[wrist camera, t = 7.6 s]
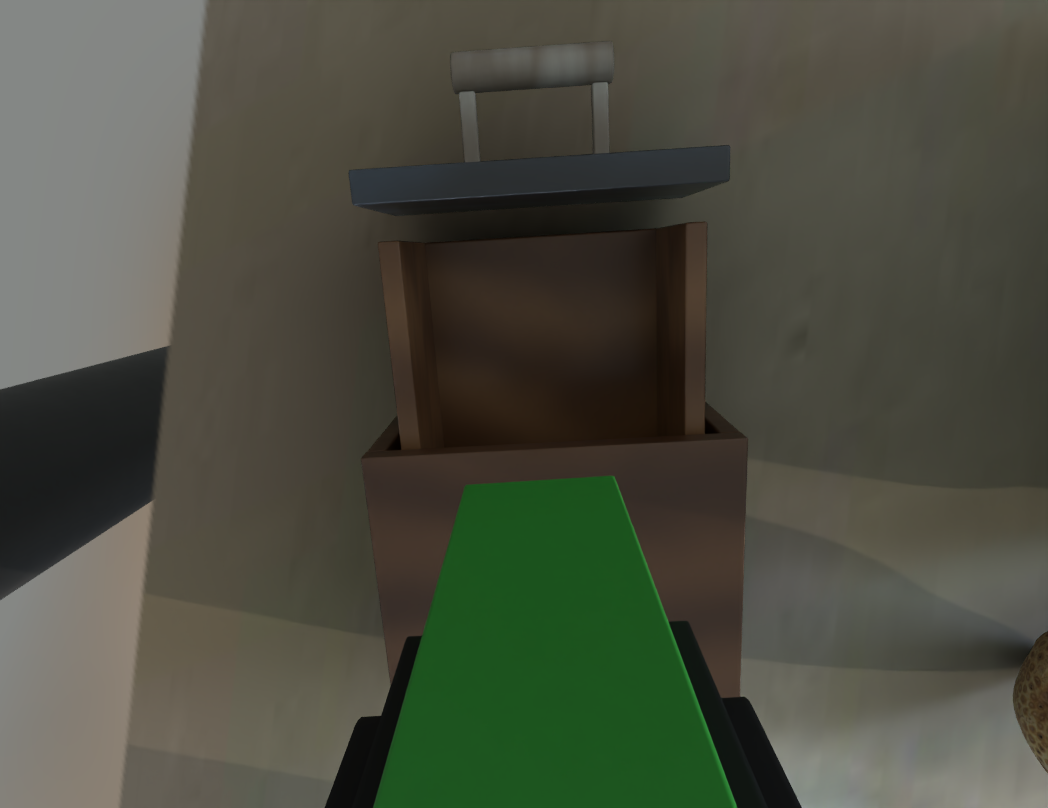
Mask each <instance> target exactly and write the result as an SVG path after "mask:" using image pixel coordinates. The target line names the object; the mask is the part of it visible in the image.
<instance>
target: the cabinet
mask: <svg viewBox="0 0 1048 808" xmlns="http://www.w3.org/2000/svg"><path fill="white" fill-rule="evenodd" d="M747 452H748V438H747V437H746V436H745V435H744V434H742V433H741V432H739V431H738V430H737V429H736V428H735V427H734V426H733V425H731V424H730V423H729V422H728V421H727V420H726V419H725V418H723V417H722V416H721V415H720V414H719V413H718V412H717V411H715V410H714V409H713V408H712V407H711V406H710V405H709V404H707V403H706V402H705V434H697V435H678V436H659V437H640V438H621V439H602V440H583V441H564V442H545V443H525V444H506V445H487V446H468V447H449V448H430V449H411V450H401V443H400V434H399V425H398V416H396V418H395V419H394V420H393V421H392V422H391V424H390V425H389V426H388V427H387V428H386V430H385V431H384V432H383V433H382V435H381V436H380V437H379V438H378V439H377V441H376V442H375V443H374V444H373V445H372V447H371V448H370V449H369V450H368V452H366V453H365V454H364V455H363V457H362V458H361V462H362V470H363V478H364V485H365V493H366V500H367V508H368V516H369V523H370V531H371V538H372V546H373V554H374V561H375V569H376V576H377V584H378V592H379V599H380V607H381V614H382V622H383V630H384V637H385V645H386V652H387V660H388V668H389V675H390V683H391V684H392V681H393V678H394V675H395V671H396V668H397V665H398V662H399V659H400V656H401V653H402V650H403V647H404V643H405V641H406V638H407V637H408V636H422V634H423V631H424V627H425V624H426V620H427V617H428V613H429V610H430V606H431V603H432V599H433V596H434V592H435V589H436V585H437V582H438V578H439V575H440V571H441V568H442V564H443V561H444V557H445V554H446V550H447V547H448V543H449V540H450V536H451V533H452V529H453V526H454V522H455V519H456V515H457V512H458V508H459V505H460V501H461V498H462V494H463V491H464V487H465V486H466V485H472V484H488V483H504V482H520V481H536V480H551V479H567V478H583V477H599V476H614V477H615V479H616V482H617V485H618V487H619V490H620V493H621V496H622V498H623V501H624V504H625V506H626V509H627V512H628V514H629V517H630V520H631V523H632V525H633V528H634V531H635V533H636V536H637V539H638V541H639V544H640V547H641V549H642V552H643V555H644V558H645V560H646V563H647V566H648V568H649V571H650V574H651V576H652V579H653V582H654V585H655V587H656V590H657V593H658V595H659V598H660V601H661V603H662V606H663V609H664V612H665V614H666V617H667V620H668V622H670V621H688V622H689V624H690V626H691V628H692V631H693V633H694V635H695V638H696V640H697V642H698V645H699V647H700V649H701V652H702V654H703V656H704V659H705V661H706V664H707V666H708V668H709V671H710V673H711V675H712V678H713V680H714V682H715V685H716V687H717V689H718V692H719V694H720V696H721V698H729V697H740V676H741V644H742V612H743V580H744V548H745V516H746V484H747Z"/></svg>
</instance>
